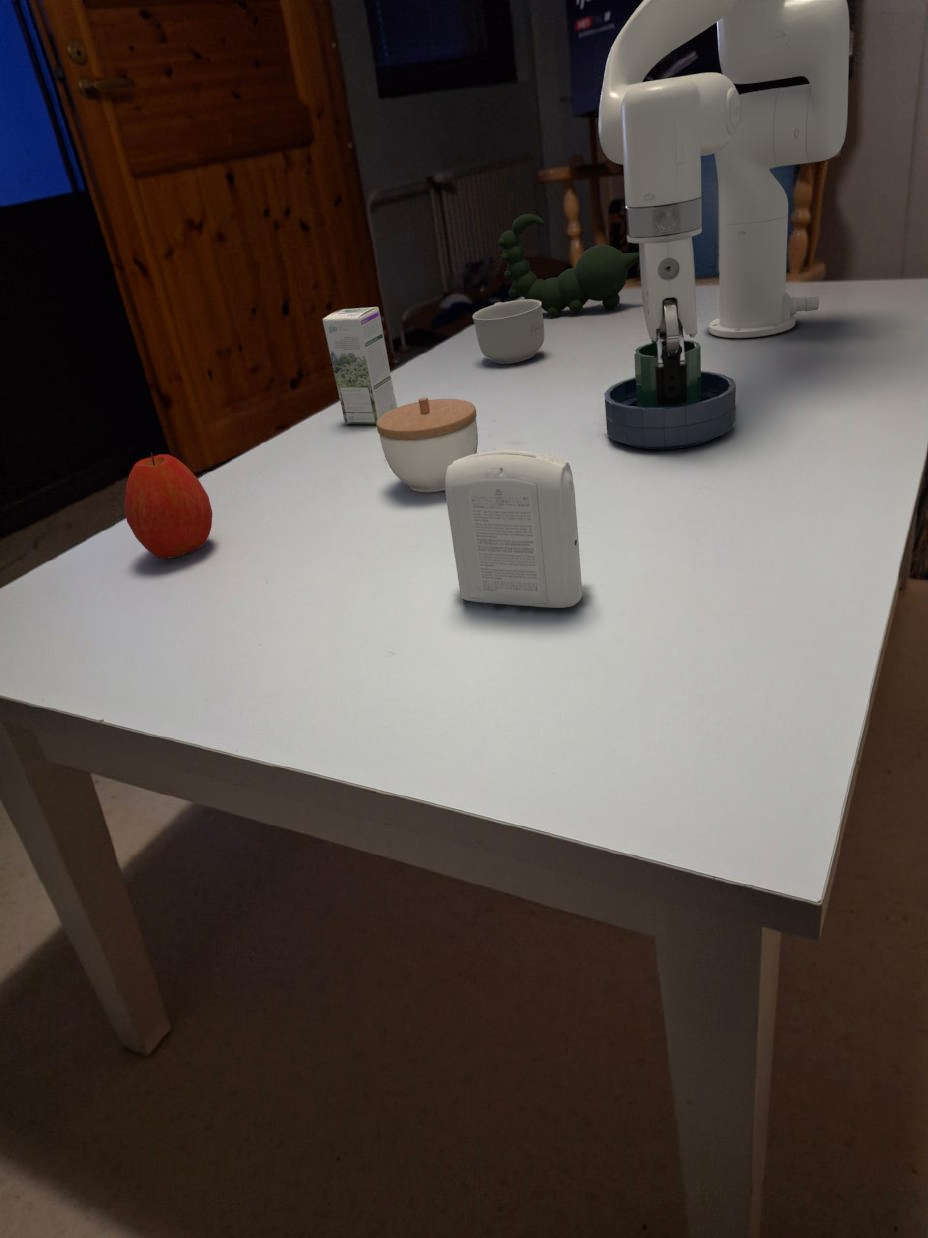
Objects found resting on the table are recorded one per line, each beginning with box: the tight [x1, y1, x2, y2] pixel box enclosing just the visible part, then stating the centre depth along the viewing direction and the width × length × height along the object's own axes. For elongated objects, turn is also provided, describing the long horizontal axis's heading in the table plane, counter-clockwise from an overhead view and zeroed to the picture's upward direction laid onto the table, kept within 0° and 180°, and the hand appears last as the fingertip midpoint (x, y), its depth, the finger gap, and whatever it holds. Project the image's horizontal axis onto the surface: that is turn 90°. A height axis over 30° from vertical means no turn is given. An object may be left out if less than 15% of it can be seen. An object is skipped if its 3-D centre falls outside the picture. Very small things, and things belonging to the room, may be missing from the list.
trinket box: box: [375, 397, 479, 494], centre depth 97 cm, size 11×11×9 cm
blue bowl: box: [603, 370, 737, 450], centre depth 101 cm, size 14×14×5 cm
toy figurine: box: [497, 213, 640, 318], centre depth 162 cm, size 9×19×25 cm
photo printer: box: [444, 449, 583, 609], centre depth 70 cm, size 10×4×12 cm, turn 69°
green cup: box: [633, 339, 702, 408], centre depth 100 cm, size 7×7×8 cm
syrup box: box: [322, 306, 398, 425], centre depth 121 cm, size 6×6×14 cm
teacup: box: [472, 298, 545, 365], centre depth 142 cm, size 14×11×8 cm
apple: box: [123, 452, 213, 560], centre depth 90 cm, size 8×8×11 cm
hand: (668, 391), depth 100 cm, fingers closed on green cup, 7 cm apart
